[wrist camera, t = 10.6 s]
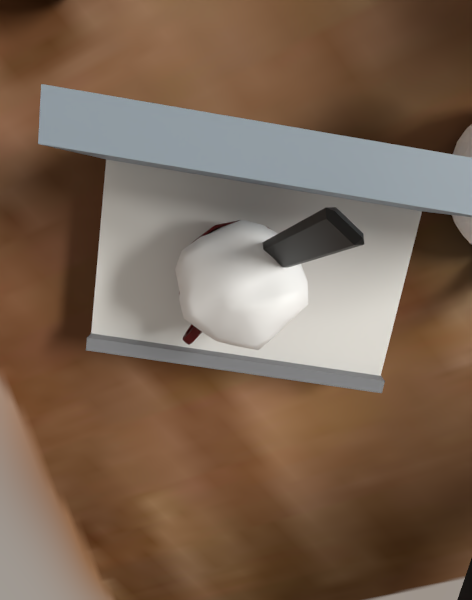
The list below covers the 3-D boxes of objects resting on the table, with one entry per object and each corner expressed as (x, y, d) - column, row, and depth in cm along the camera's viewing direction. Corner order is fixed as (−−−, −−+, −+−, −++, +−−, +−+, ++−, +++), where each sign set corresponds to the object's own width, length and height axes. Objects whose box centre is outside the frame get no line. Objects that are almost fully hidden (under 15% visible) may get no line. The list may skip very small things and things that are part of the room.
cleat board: (410, 176, 28) (535, 168, 17) (364, 368, 31) (442, 476, 20) (122, 128, 27) (41, 84, 16) (103, 330, 30) (24, 418, 19)
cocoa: (200, 341, 28) (170, 465, 16) (150, 251, 26) (78, 320, 15) (342, 275, 27) (418, 360, 15) (299, 176, 25) (346, 188, 14)
